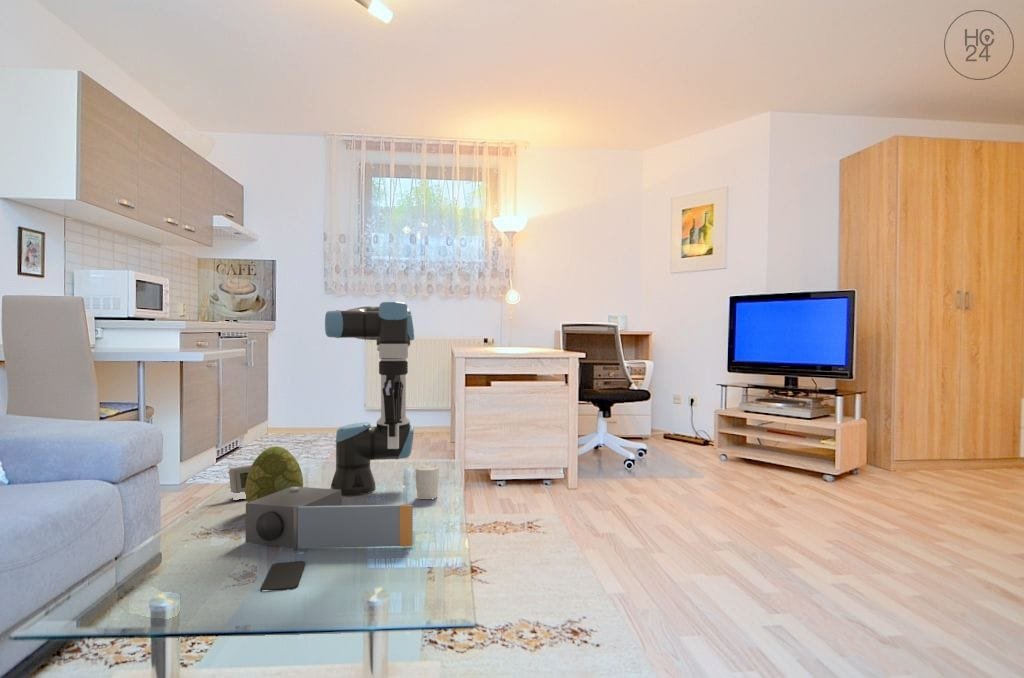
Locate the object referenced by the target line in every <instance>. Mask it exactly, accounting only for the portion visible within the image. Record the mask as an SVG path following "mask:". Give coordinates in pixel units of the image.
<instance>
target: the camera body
mask: <svg viewBox="0 0 1024 678" xmlns="http://www.w3.org/2000/svg"><path fill="white" fill-rule="evenodd" d="M294 506H342V495H341V490H337V489H331V488H324V487H323V488H320V487H307V486H306V487H305V486H303V487H295V486H292V487H289V488H287V489H284V490H281V491H278V492H276V493H273V494H270V495H267V496H264V497H262V498H259V499H256V500H253V501H251V502H248V503H247V502H246V503H245V543H250V544H259V545H269V546H278V547H287V548H293V526H294Z"/></svg>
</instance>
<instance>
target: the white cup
mask: <svg viewBox="0 0 1024 678" xmlns="http://www.w3.org/2000/svg"><path fill="white" fill-rule="evenodd" d="M414 469H415V484H416V485H415V487H416V498H417V497H418V498H421V499H432V498H435V499H437V498H438V495H439V494H438V493H439V492H438V490H439V481H440V480H439V478H440V477H439V476H440V467H439V466H438V465H433V464H432V465H431V464H429V465H428V464H426V465H425V464H424V465H419V466H417V467H416V466H415V468H414ZM436 497H437V498H436ZM418 498H417V499H418ZM432 500H433V499H432Z"/></svg>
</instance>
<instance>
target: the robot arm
mask: <svg viewBox="0 0 1024 678" xmlns="http://www.w3.org/2000/svg"><path fill="white" fill-rule="evenodd" d="M324 331H325V332H324V333H325V335H326V337H328V338H335V339H340V338H341V339H342V338H343V339H345V338H348V339H349V338H351V339H352V338H353V339H358V340H366V341H367V340H368V341H376V346H377V348H376V350H377V351H378V358H379V359H380V361H379V362H378V373H379V375H380V417H379V418H378V420H377V421H376V426H372V425H371V423H370V422H369V421H368V422H357V423H355V422H354V423H351V424H345V425H343V426H340V427H338V428H337V430H336V436H335V437H336V438H335V441H334V442H335V471H334V475H333V477H332V481H331V483H330V489H337V490H341V496H346V497H347V496H361V495H365V494H370V493H373V492H374V491H376V482H375V481H376V480H375V478H374V476H373V472H372V470H371V461H376V460H377V461H378V460H379V461H380V460H399V459H407V458H409V457H410V456H411V453H412V450H413V448H412V447H413V443H414V432H415V426H414V425H412V424H411V421H410V419H409V418H408V417H407V416H406V412H407V411H406V408H407V407H406V406H407V405H406V401H407V400H406V398H407V397H406V394H407V392H406V390H407V389H406V388H407V386H406V385H407V382H406V381H407V379H406V378H407V377H406V375H407V374H408V371H409V370H408V369H409V368H408V367H409V366H408V365H409V361H407V359H408V358H409V348H410V346H411V342H412V341H414V340H415V334H414V333H415V330H414V324H413V315H412V311H411V310H410V308H409V307H408V304H407V303H406V302H402V301H383V302H380V303H379V306H360V307H355V308H349V309H347V310H340V309H339V310H328V311H326V313H325V317H324ZM372 491H373V492H372Z"/></svg>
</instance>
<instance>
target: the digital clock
mask: <svg viewBox="0 0 1024 678" xmlns="http://www.w3.org/2000/svg"><path fill="white" fill-rule="evenodd" d="M251 466H252V464H246V465H241V466H233V467H230V468H229V469H228V474H229V475H228V477H229V483H230V493H231V492H233V493H240V492H245V486H246V479H247V476H248V473H249V470H250V468H251Z"/></svg>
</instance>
